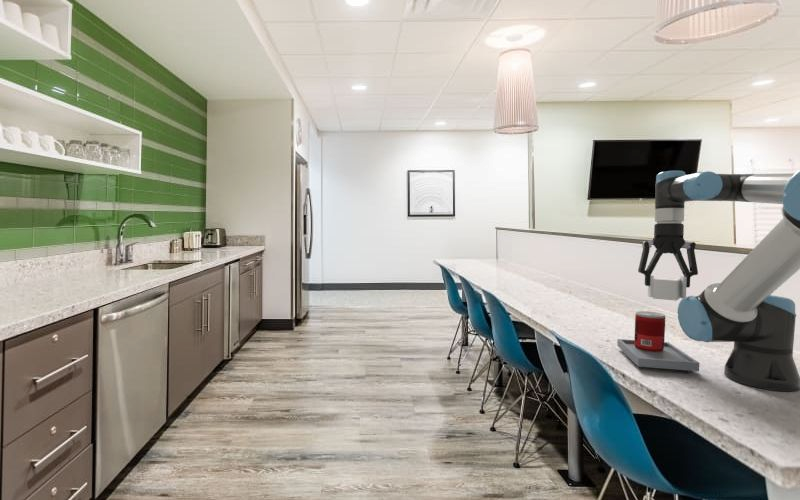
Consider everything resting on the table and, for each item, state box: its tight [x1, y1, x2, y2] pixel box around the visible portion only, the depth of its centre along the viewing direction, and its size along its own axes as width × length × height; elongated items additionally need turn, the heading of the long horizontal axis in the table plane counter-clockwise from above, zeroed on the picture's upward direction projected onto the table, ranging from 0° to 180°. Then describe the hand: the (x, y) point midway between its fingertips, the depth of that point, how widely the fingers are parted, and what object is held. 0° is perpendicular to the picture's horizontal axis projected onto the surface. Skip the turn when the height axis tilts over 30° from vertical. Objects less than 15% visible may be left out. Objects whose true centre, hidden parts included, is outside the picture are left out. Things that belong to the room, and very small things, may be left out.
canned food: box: [633, 310, 666, 352], centre depth 128 cm, size 8×8×11 cm
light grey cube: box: [652, 277, 681, 302], centre depth 126 cm, size 6×6×6 cm
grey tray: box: [616, 338, 700, 373], centre depth 124 cm, size 21×15×4 cm
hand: (666, 297), depth 126 cm, fingers closed on light grey cube, 8 cm apart
